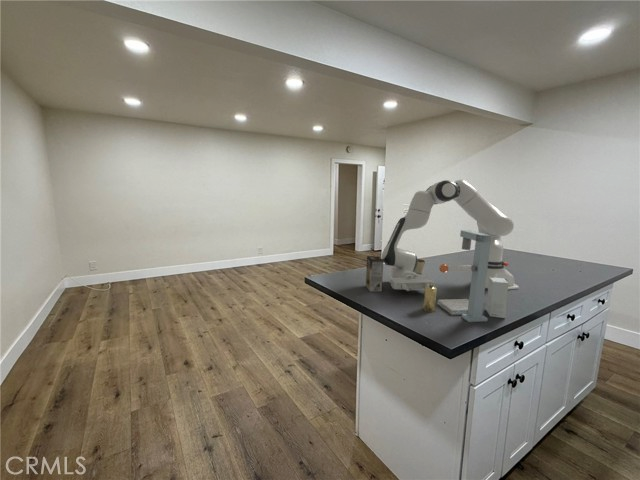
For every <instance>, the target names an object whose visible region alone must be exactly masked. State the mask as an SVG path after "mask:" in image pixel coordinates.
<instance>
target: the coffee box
mask: <svg viewBox="0 0 640 480" xmlns="http://www.w3.org/2000/svg"><path fill="white" fill-rule="evenodd" d="M384 264H385V263H384V261H383V260H382V257H380V256H379V255H378V256H374V255H367V256H366V271H365V272H366V273H365V287H366V288H367V289H368V291H369V292H382V290H383V276H384Z"/></svg>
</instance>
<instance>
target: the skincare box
mask: <svg viewBox="0 0 640 480" xmlns="http://www.w3.org/2000/svg"><path fill="white" fill-rule="evenodd" d="M508 284H509V283H508V282H507V281H506V280H505V279H504V278H494V277H489V285H488V289H487V299H486V307H485V308H486V309H485V310H486V312H487V314H488V315H489V317H492V318H498V319H499V318H500V319H506V315H507V303H508V291H509V290H508Z"/></svg>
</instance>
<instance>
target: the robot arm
mask: <svg viewBox="0 0 640 480" xmlns="http://www.w3.org/2000/svg"><path fill="white" fill-rule="evenodd" d="M452 200H453V201H454V202H456V203H457V205H458V206H459V207H460V208H461V209H462V210H463V211H464V212H465V213H466V214H467V215H469V216H470V217H471V218H472V219H474V220H475V221H476V225H477V228H478V233H482V234H487V235H491V243H490V251H489V259H488V268H487V276H486V284H485V289H487V290H488V285H489V277H494V278H504V279H505V280H506V281H507V282H508V283H509V284H508V291H509V290H519V289H520V287H519V285H518V284H516V283H515V277H514V275H513V274H511V273H510V271H508V270H507V269H506V268H505V267H508V266H510V264H509V262H506V261H503V253H504V245H503V242H502V237H504V236H508V235H510V234H511V233H512V232H513V230H514V228H515V227H514V226H515V225H514V222H513V220H512V219H511V218H510V217H509V216H508V215H506V214H504V213H503V212H502V211H501V210H500V209H499V208H497V207H496V206H495V205H493V204H492V203H490V201H488V200H487V199H486V198H485V197H484V196H483V195H482V194H481V193H480V192H479V190H477V189H476V188H475V187H474V186H473V185H472V184H470V183H469V182H468V181H466V180H465V179H457V180H455V181H451V180H447V179H446V180H445V179H444V180H441V181H438V182H435V183H434V184H432V185H431V186H429V187H427V189H426V190H419V191H416V192H415V193H414V195H413V197H412V199H411V201H410V204H409V206H408V210H407V213H406V214H405V215H404V216H403V217H400V218H399V220H398V221H397V223H396V225H395V227H394V229H393V230H392V233H391V235H390V238H389V240H388V241H387V244H386V246H385V247H384V249H383V251H382V253H381V259H382V260H383V261H384V263H383V264H385V266H389V267H390V269H389V275H390V277H391V279H388V283H389V284H390V286H391V287H392V289H393V290H404V291H406V292H410V291H411V290H425V286H430V283H431V284H433V286H434V287H435V282H434V280H433V279H432V278H430V277H428V276H426V274H424V273H422V274H421V273H414V271H415V269H416V267H417V264H418V259H419V258H418V256H417V254H416V253H415V252H413V251H410V250H408V249H407V250H406V249H403V248H398V245H399V243H400V240H401V238H402V236H403V234H404V233H405V232H406V231H410V230H414V229H415V230H416V229H420V228H423V227H425V226H426V225H427V223H428V221H429V219H430V215H431V211H432V208H433V207H434V205H440V204H441V205H442V204H445V203H447V202H451V201H452Z"/></svg>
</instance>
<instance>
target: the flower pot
mask: <svg viewBox="0 0 640 480" xmlns="http://www.w3.org/2000/svg"><path fill="white" fill-rule="evenodd" d="M417 259H418V264H417V267H416V269H415V271H414V273H421V274H423V271H424V267H425V264H426V262H427V261H426V260H425V259H421V258H417Z"/></svg>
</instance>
